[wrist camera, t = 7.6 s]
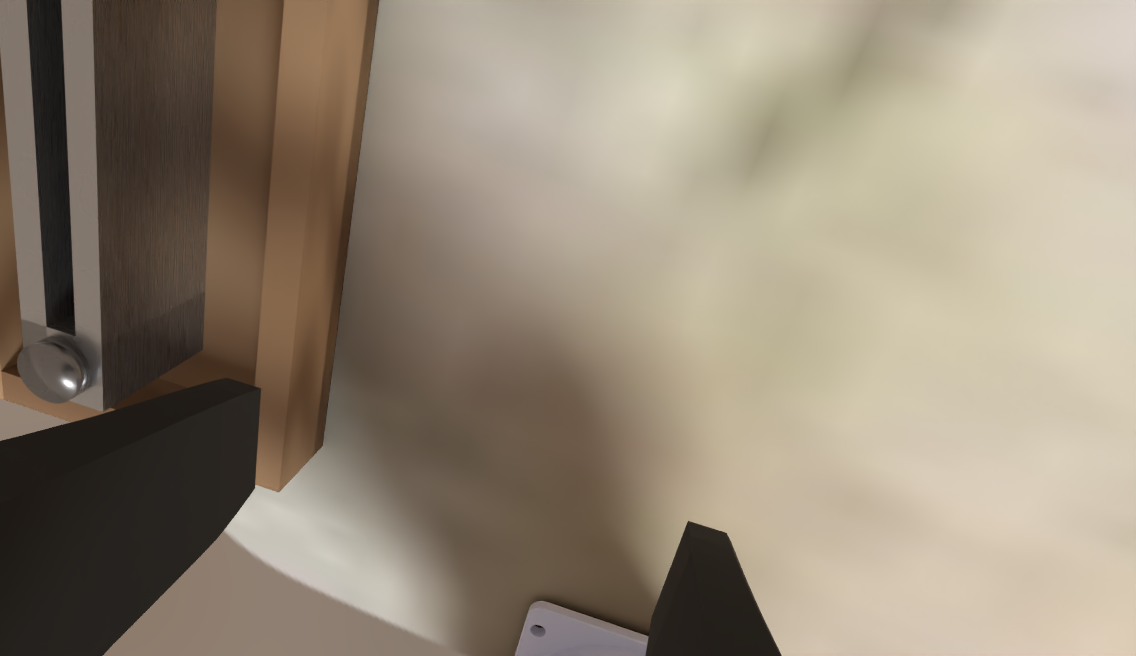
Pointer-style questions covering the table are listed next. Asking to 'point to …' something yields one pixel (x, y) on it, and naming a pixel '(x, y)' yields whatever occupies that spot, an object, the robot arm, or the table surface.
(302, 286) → the wooden tray
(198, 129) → the slotted metal channel
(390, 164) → the table surface
